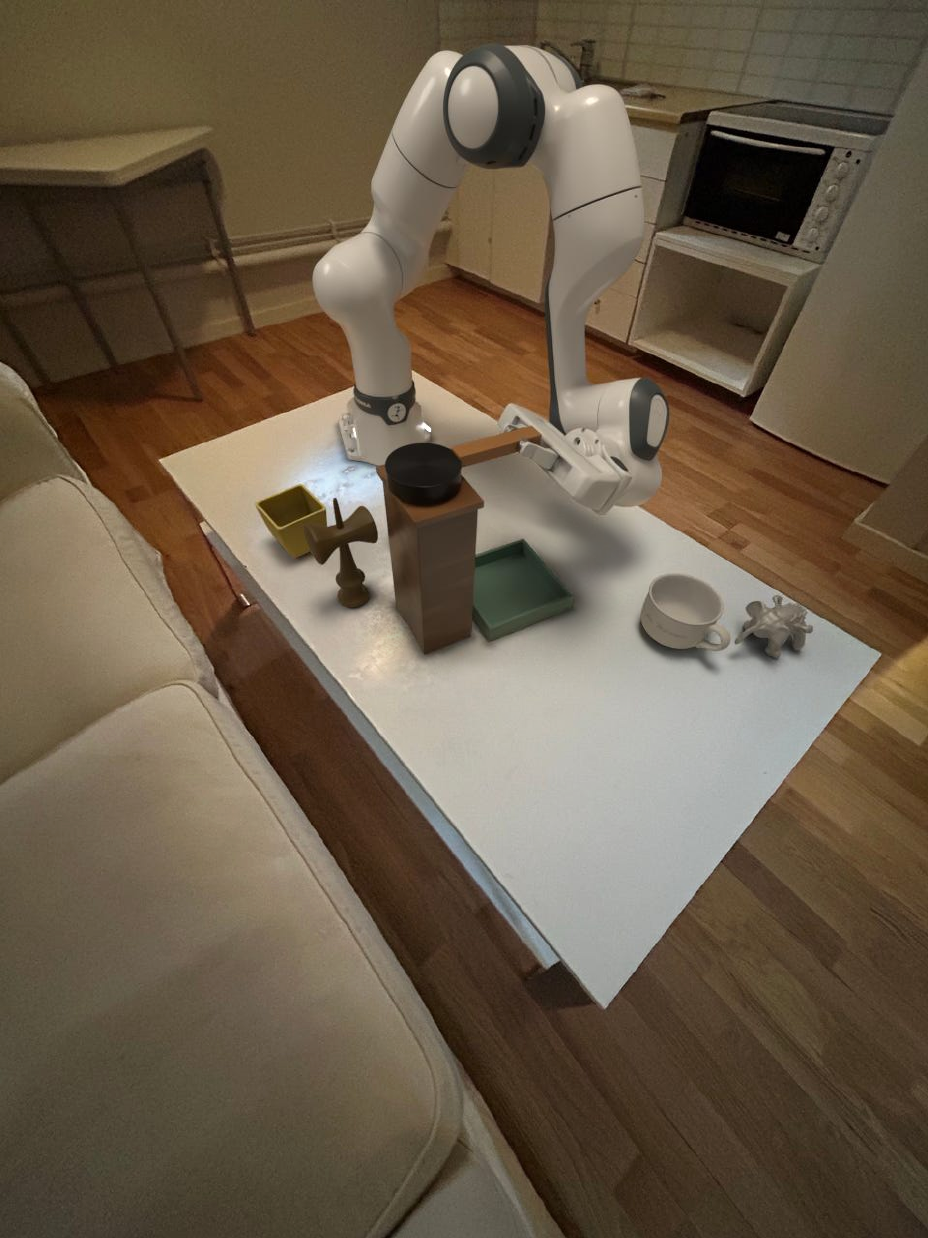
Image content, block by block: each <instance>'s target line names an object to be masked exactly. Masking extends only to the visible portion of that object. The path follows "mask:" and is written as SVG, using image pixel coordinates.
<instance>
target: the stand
mask: <svg viewBox="0 0 928 1238" xmlns="http://www.w3.org/2000/svg"><path fill="white" fill-rule="evenodd" d="M375 472H376V475H377V476H378V477H379V479H380V480H381V482H382V490H383V498H384V499H383V501H384V508H385V517H386V525H387V537H388V546H389V553H390V555H389V556H390V564H391V573H392V582H393V591H394V600H395V607H396V608H397V610H398V612H399V613H400V616H401V618H402V619H403V620H404V622H405V624H406V626H407V627H408V629H409V631H410V632H411V634H412V636H413V637H414V639H415V641H416V643H417V645H418V646H419V648H420V650H421V651H422V653H423V655H427V654H430V653H432V652H435V651H437V650H441V649H442V648H444V647H448V646H451V645H452V644H455V643H457V642H460V641H463V640H465V639H468V638H470V637H472V625H473V618H472V610H473V592H474V574H475V555H476V553H477V535H478V517H479V510H481V509H484V507H485V500H484V499H483V498H482V497H481V496H480V494H479V493H478V492H477V490H475V488H474V487H473V486H472V485H471V484H470V482H469V481H468V480H467V479H466V478H465V477H464V475H462V476H461V486H460V488H459V490H458V491H457V492H456V493H455V494H454V495H453V496H452V497H450V498H448V499H446V500H444V501H441V502H438V503H432V504H415V503H410V502H406V501H403V500H401V499H399V498H397V497H396V496H394V495H393V494H392V493H391V492H390V491H389V489H388V487H387V482H386V472H385V464H384V465H381V466H378V465H376V466H375Z"/></svg>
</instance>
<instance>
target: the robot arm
mask: <svg viewBox="0 0 928 1238" xmlns="http://www.w3.org/2000/svg"><path fill="white" fill-rule="evenodd" d="M630 121H631V120H630V118H629V115H628V111H627V108H626V104H625V102H624V99H623V97H622V95H621V94H620V93H619V91H618V90H616V89H615V88H614V87H612V86H609V85H605V84H590V85H589V84H588V85H585V86H583V82H582V80H581V77H580V75H579V73H578V72H577V69H576V68H575V67H574V66H573V65H572V63H570V62H569V61H568V60H567V59H566V58H564V56H562V55H560V54H558V53H554V52H548V51H546V50H545V49H542V48H539V47H536V46H532V45H528V44H522V45H521V44H519V45H502V44H500V43H493V42H492V43H486V44H482V45H479V46H476V47H474V48H472V49H469V50H468V51H466V52H465V53H464V54H461V53H459V52H457V51H454V50H441V51H437V52H436V53H434V54H433V55H431V57H430V58H429V59H428V60H427V61H426V63H425V64H424V66H423V68H422V69H421V71H420V73H419V74H418V75H417V77H416V79H415V81H414V83H413V84H412V85H411V88H410V90H409V91H408V93H407V95H406V97H405V99H404V101H403V103H402V105H401V107H400V110H399V111H398V114H397V116H396V119H395V121H394V123H393V126H392V128H391V130H390V133H389V136H388V138H387V141H386V143H385V145H384V149H383V151H382V154H381V156H380V158H379V161H378V163H377V166H376V169H375V171H374V174H373V176H372V179H371V183H370V192H371V197H372V200H373V209H372V213H371V218H370V220H369V222H368V223H367V225H366V226H364V228H363V229H362V230H361V231H360V233H358V234H356V235H354V236H353V237H350V238H349V239H346V240H344V241H342V242H340V243H338V244H336V245H334V246H333V247H331V248H330V249H329V250H328V251H327V252H326V253H325V254H324V255H323V256H322V258H320V260H319V261H318V262H317V264H316V265H315V266H314V269H313V272H312V280H311V281H312V289H313V293H314V296H315V299H316V301H317V302H318V305H319V306H320V308H321V309H322V311H323V313H325V314H326V315H327V316H328V317H329V319H331V320H333V321H334V322H336V323H337V324H338V325H339V326H340V327H341V329H342V331H343V333H344V335H345V337H346V340H347V343H348V347H349V350H350V355H351V356H350V357H351V361H352V368H353V376H354V385H353V392H352V393H353V396H352V398H351V399H349V400H348V401H347V403H346V411H347V413H342V414H341V419H340V420H339V422H338V425H339V431H340V434H341V436H342V441H343V445H344V449H345V452H346V453H345V454H346V457H347V459H348V460H350V461H355V462H364V463H368V464H370V465H373V466H381V465H384V464H385V461H386V459H387V457H388V456H389V454H390V453H392V452H393V451H394V450H396V449H397V448H399V447H402V446H404V445H408V444H412V443H430V441H431V434H430V432H432V428H431V427H430V426H428V425H427V424H426V423H425V422H424V415H423V407H422V405H421V404H420V403H419V402H417V399H416V395H417V392H416V390H417V389H416V387H415V386H416V385H415V381H414V379H413V372H412V371H413V366H412V346H411V343H410V340H409V338H408V337H407V335H406V334H405V333H403V332H402V331H401V330H399V329H398V326H397V322H396V319H395V311H394V310H395V304H396V303H397V302H398V301H400V300H401V299H403V298H404V297H406V296H407V295H409V294H410V293H412V292H413V291H414V290H415V288H416V287H417V286H418V285H419V284H420V283H421V282H422V279H423V278H424V276H426V273H427V271H428V268H429V263H430V254H429V253H430V249H431V245H432V243H433V240H434V237H435V235H436V232H437V229H438V228H439V225H440V223H441V222H442V220H443V218H444V216H445V214H446V212H447V210H448V208H449V206H450V204H451V203H452V201H453V199H454V197H455V195H456V193H457V191H458V189H459V187H460V185H461V183H462V182H463V179H464V178H465V175H466V174H467V172H468V170H469V168H470V166H471V165H474V166H476V167H478V168H481V169H485V170H501V169H504V170H519V169H523V168H526V167H532V168H534V169H535V170H536V171H537V172H538V173H539V174H540V176H541V178H542V179H543V181H544V184H545V187H546V191H547V196H548V201H549V206H550V207H549V209H550V213H551V219H552V225H553V232H554V233H553V234H554V257H553V266H552V270H551V274H550V275H549V277H548V278H547V281H546V284H545V291H544V317H545V319H544V320H545V333H546V334H545V335H546V350H547V363H548V375H549V393H550V394H549V395H550V396H549V397H550V399H549V409H548V410H549V411H548V419H546V418H544V417H543V416H541V415H540V414H538V413H536V412H534V411H531V410H529V409H527V408H525V407H524V406H521V405H519V404H517V403H513V402H511V403H510V402H509V403H508V404H507V405H506V406H505V408H504V410H503V411H502V413H501V415H500V417H499V419H498V420H497V426H498V427H499V429H501V430H500V433H499V434H502V433H506V432H509V431H513V430H517V429H521V428H524V427H528V426H533V427H534V428H535V429H536V430H537V431H538V432H539V433H541V434H542V437H541V444H540V446H539V445H537V444H535V443H533V442H532V441H531V440H528V439H525V438H522V439H520V441H519V444H518V445H517V446H516V451H517V453H518V454H519V455H520V456H521V457H523V458H524V459H525V458H526V459H528V460H530V461H532V462H534V463H535V464H536V465H537V466H538V467H539V468H540V469H541V470H542V471H543V472H544V473H545V474H546V475H547V476H548V477H549V478H550V479H551V480H552V482H553V485H554V486H555V487H556V488H557V489H559V490H560V491H562V492H563V493H565V494H567V496H568V497H569V498H571V499H572V501H574V502H576V503H577V504H579V505H581V506H583V507H585V508H588V509H590V510H592V511H593V512H594V513H596V514H599V515H601V516H606V515H607V514H608V513H609V512H610V511H611V509H612V508H613V507H614V506H615V507H620V508H633V507H637V506H641V505H643V504H645V503H647V502H649V501H650V500H651V499H652V498H654V496H656V494H657V493H658V491H659V490H660V487H661V485H662V481H663V468H662V466H661V463H660V460H659V454H658V452H659V450H660V448H661V447H662V444H663V442H664V440H665V438H666V435H667V431H668V428H669V421H670V406H669V403H668V400H667V398H666V396H665V394H664V391H663V390H662V388H661V386H660V385H659V384H658V383H657V382H656V381H655V380H653V379H652V378H650V377H648V376H643V377H635V378H627V379H620V380H615V381H611V382H605V383H603V382H602V383H597V384H591V383H590V381H589V380H588V378H587V377H588V376H587V365H586V338H585V337H586V336H585V334H586V333H585V327H586V322H587V321H586V320H587V317H588V315H589V312H590V311H591V309H592V307H593V306H594V304H595V303H596V302H597V301H598V300H599V299H600V298H601V296H603V294H605V293H607V291H608V290H610V289H611V288H612V287H613V286H614V285H615V284H617V282H618V281H620V280H621V279H622V277H624V276H625V274H626V273H627V272H628V270H629V269H630V268H631V267H632V265H633V263H634V262H635V260H636V259H637V256H638V254H639V252H640V251H641V249H642V245H643V242H644V238H645V230H646V229H645V228H646V211H645V201H644V193H643V188H642V187H643V185H642V178H641V177H642V176H641V169H640V164H639V163H640V162H639V158H638V157H639V156H638V151H637V147H636V142H635V137H634V135H633V130H632V126H631V122H630Z"/></svg>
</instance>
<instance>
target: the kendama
mask: <svg viewBox="0 0 928 1238" xmlns="http://www.w3.org/2000/svg"><path fill="white" fill-rule="evenodd" d="M332 506H333V507H332V508H333V513H334V519H335V524H333V525H328V526H327V527H324V526H318V525H314V524H309V523H305V524H304V528H303V530H304V535H305V538H306V541H307V544H308V546H309V549H310V553H311V554H312V556H313V558H314V560H315V561H316V562H317V564H319V565H320V566H323V565H325V564H326V563H327V561H328V560H329V559H330V557H331V556H332V555H333V553H334V552H336V550H337V549H339V571H338V573H337V574H336V575H335V582H336V584H337V586H339V589H338V591H337V596H336V597H337V600H338V602H339V603H340V604H341V605H342V606H344V607H346V608H356V607H359V606H362V605H364V604H365V603H367V602H368V601H369V599H370V595H371V592H370V590H369V588H368V587H367V586H366V585H365V584H364V582H365V581H366V575H365V572H364V571H363V570H362V569H361V568H359V567H358V566H357V565H356V562H355V559H354V556H353V553H352V550H351V547H350V545H349V544H351V543H357V542H361V543H369V544H376V543H377V542H378V540H379V531H378V527H377V524H376V521H375V519H374V517H373V515H372V513H371V512H370V510H369V509H368V508H367V507H366V506H364V505H359V506H358V507H357V508H356V509H355V510H354V511H353V512H352V513H351V515H349V517H348V518H346V519H345V520H343V517H342V512H341V508H340V505H339V501H338V499H337V497H333V499H332Z"/></svg>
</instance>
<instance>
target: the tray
mask: <svg viewBox="0 0 928 1238" xmlns="http://www.w3.org/2000/svg"><path fill="white" fill-rule="evenodd" d="M573 599H574V595H573V594H572V593H571V591H570V590H569V588H567V586H566V585H565V584H564V583H563V582H562V581H561V579H560V578H559V577H557V575H556V574H555V573H554V572H553V570H552V569H551V568H550V567H549V566H548V565H547V564H546V562H544V560H543V559H542V558H541V557H540V556H539V555H538V553H537V552H536V550H534V549H533V548H532V546H530V544H529V543H528V542H527V541H526V540H525V538H521V539H518V540H515V541H512V542H509V543H506V544H502V545H500V546H497V547H494V548H491V549H489V550H485V551H482V552H480V553H477V554H476V555H475V574H474V592H473V610H472V620H473V621H474V622H475V624H476V625H477V627H478V629H480V631H481V632H482V634H483V635H484V637H485V638H486V640H487V641H488V642H491V641H493V640H496V639H499V638H501V637H503V636H507V635H508V634H511V633H513V632H517V631H518V630H521V629H524V628H526V627H528V626H531V625H534V624H536V623H538V622H541V621H543V620H546V619H548V618H550V617H554V616H556V615H559V614H560V613H563V612H566V611H568V610H570V609H571V607H572V603H573Z"/></svg>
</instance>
